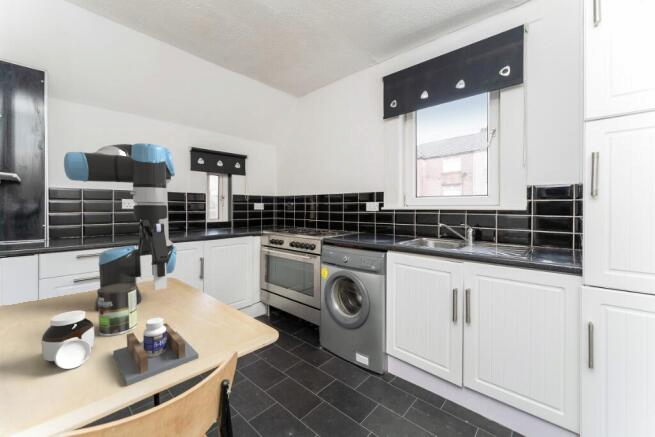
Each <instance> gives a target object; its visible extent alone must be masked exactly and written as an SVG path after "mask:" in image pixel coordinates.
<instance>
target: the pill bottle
mask: <svg viewBox="0 0 655 437" xmlns="http://www.w3.org/2000/svg"><path fill="white" fill-rule="evenodd" d="M163 324H164V318H162V317H154V318H150V319H148V320H147V321H146V322H145V327H146V329H144V331H143V336H142V337H143V341H142V342H144V350H145V352H146V353H147V355H148V357H154V356H158V355H160V354H162V353H164V352H165V351H166V327H165V326H163Z"/></svg>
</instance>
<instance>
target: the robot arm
mask: <svg viewBox="0 0 655 437" xmlns="http://www.w3.org/2000/svg"><path fill="white" fill-rule="evenodd" d="M63 168H64V173H65V176H66V178H68V179H69V180H70V181H76V182H78V181H79V182H83V183H84V182H85V183H87V182H97V183H98V182H100V183H101V182H102V183H103V182H104V183H105V182H106V183H126V184H129V183H131V184H132V190H131V191H130V192H129V193H130V196H131V195H132V196H133V197H132V200H133V201H132V202H133V203H134V205H133V206H132V207H133V208H132V209H133V219H135V220H138V221H139V231H138V232H139V233H138V244H137V247H138V248H137V249H136V247H135V246H134V245H126V246H125V245H124V246H118V247H114V248H113V247H112V248H110V249H105V250H104V251H102V252H101V253H99V255H98V268H99V269H98V270H99V272H98V273H99V289H100V288H102V287H104V286H108V285H112V284H119V283H134V284H136V285H137V278H140V279H141V280H143V279H149V278H153V290H154V291H158V290H163V289H167V288H168V285H167V284H168V280H167V278H168V274H172V273H173V272H174V271H175V267H176V261H177V251H178V250H177V249H178V248H177V246H174V244H173V241H172V240H170V239H169V210H168V209H169V206H168V202H169V201H168V199H169V198H168V184H169V183H170V182H171V181H172V177H175V175H176V173H175V172H176V171H175V166H174V159H173V155H172V151H171V150H170V148H167V147H163V146H161V145H159V144H153V143H144V142H143V143H141V142H140V143H138V142H137V143H133V144H129V143H119V144H111V145H106V146H102V147H101V148H98V150H96V151H94V152H83V151H68V152H66V153H65V155H64V158H63ZM142 300H143V299H142V293H141V291H140V289H139V287H138V285H137V287H136V302H137V305H139V304H141V303H142ZM94 303H95V304H94V308H95V310H96V311H97V312H99V309H98V296H96V299H95V302H94Z"/></svg>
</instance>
